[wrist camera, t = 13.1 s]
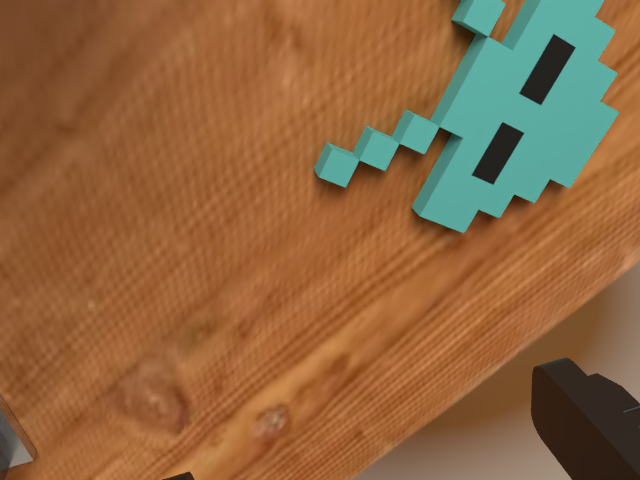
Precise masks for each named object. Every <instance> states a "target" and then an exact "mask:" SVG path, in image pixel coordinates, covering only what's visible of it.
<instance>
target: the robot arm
mask: <svg viewBox="0 0 640 480" xmlns="http://www.w3.org/2000/svg"><path fill="white" fill-rule="evenodd" d="M531 415H532V420H533V423H534V426H535V428H536V430H537V433H538V434H539V436H540V438H541V439H542V440H543V442H544V443H545V445H546V446H547V447H548V448H549V450H550V451H551V452H552V454H553V455H554V456H555V458H556V459H557V460H558V462H559V463H560V464H561V465H562V467H563V468H564V469H565V471H566V472H567V473H568V475H569V476H570V477H571V479H572V480H640V403H639V402H638V401H637V400H636V399H635V398H633V397H632V396H631V395H630V394H629V393H628V392H627V391H626V390H625V389H624V388H623V387H622V386H620V385H618V384H616V383H615V382H613V381H611V380H609V379H607V378H605V377H603V376H601V375H599V374H598V373H596V374H593V375H590V376H587V375H586V374H585V373H584V372H583V371H582V370H581V369H580V368H579V367H578V366H577V365H576V364H575V363H574V362H573V361H572V360H570V359H568V358H562V359H559V360H555V361H552V362H549V363H546V364H542V365H539V366H536V367H534V369H533V374H532V400H531ZM163 480H194V478H193V476H192V474H191V473H190V472H186V473H183V474H180V475H176V476H173V477H170V478H167V479H163Z"/></svg>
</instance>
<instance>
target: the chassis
mask: <svg viewBox="0 0 640 480" xmlns="http://www.w3.org/2000/svg"><path fill="white" fill-rule="evenodd" d="M35 454H36V449H35V448H34V446H33V445H32V443H31V442H30V440H29V439H28V437H27V435H26V434H25V432H24V431H23V429H22V428H21V426H20V425H19V423H18V422H17V420H16V418H15V417H14V415H13V414H12V412H11V411H10V409H9V408H8V406H7V405H6V403H5V401H4V400H3V398H2V397H1V395H0V480H5V477H6V474H7V472H8V469H9V468H10V467H13V466H16V465H20V464H23V463H27V462H30V461H33V460H34V457H35Z"/></svg>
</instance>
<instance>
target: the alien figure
mask: <svg viewBox="0 0 640 480" xmlns="http://www.w3.org/2000/svg"><path fill="white" fill-rule="evenodd" d="M603 2H604V0H525V2H524V4H523V6H522V8H521V9H520V11H519V13H518V15H517V17H516V18H515V20H514V22H513V24H512V26H511V28H510V29H509V31H508V33H507V35H506V37H505V38H504V40H503V42H502V44H500V43H499V42H497V41H495V40H493V39H492V38H490V37H488V36H489V35H490V33H491V31H492V29H493V27H494V25H495V23H496V22H497V20H498V18H499V16H500V14H501V12H502V11H503V9H504V7H505V5H506V4H505V3H503V2H502V1H500V0H461V1H460V3H459V5H458V7H457V9H456V11H455V13H454V15H453V17H452V19H451V20H452V21H454V22H456V23H458V24H459V25H461V26H463V27H465V28H466V29H468V30H470V31H472V32H473V33H475V34H476V35H475V37H474V38H473V40H472V42H471V44H470V46H469V48H468V50H467V52H466V53H465V55H464V57H463V59H462V61H461V63H460V65H459V67H458V69H457V70H456V72H455V74H454V76H453V78H452V80H451V82H450V84H449V85H448V87H447V89H446V91H445V93H444V95H443V97H442V99H441V101H440V102H439V104H438V106H437V108H436V110H435V112H434V114H433V116H432V117H431V119H430V121H429V120H427V119H425V118H423V117H421V116H419V115H416V114H414V113H412V112H410V111H408V110H406V109H405V111H404V113H403V115H402V117H401V119H400V121H399V123H398V125H397V127H396V129H395V131H394V133H393V135H392V137H390V136H388V135H386V134H384V133H381V132H379V131H377V130H375V129H372V128H370V127H368V126H366V127H365V129H364V131H363V133H362V135H361V137H360V139H359V141H358V143H357V145H356V147H355V149H354V151H353V153H351V152H349V151H347V150H344V149H342V148H339V147H337V146H335V145H332V144H330V143H327V142H326V144H325V147H324V149H323V151H322V153H321V155H320V157H319V159H318V162H317V164H316V166H315V168H314V170H315V172H316V174H317V175H318V177H319V178H322V179H325V180H327V181H330V182H332V183H335V184H338V185H340V186H343V187H345V188H346V186H347V184H348V182H349V180H350V178H351V176H352V174H353V172H354V170H355V168H356V166H357V164H358V162H359V160H360V161H362V162H364V163H367V164H369V165H372V166H374V167H377V168H379V169H381V170H384V171H386V169H387V167H388V165H389V163H390V161H391V159H392V157H393V155H394V153H395V151H396V149H397V148H398V146H399V144H402V145H404V146H406V147H409V148H411V149H413V150H415V151H418V152H420V153H422V154H424V155H425V153H426V151H427V149H428V147H429V145H430V144H431V142H432V140H433V138H434V136H435V134H436V132H437V131H438V129H439V127H441V128H443V129H445V130H447V131H450V132H452V135H451V136H450V138H449V140H448V142H447V144H446V145H445V147H444V149H443V151H442V153H441V155H440V156H439V158H438V160H437V162H436V164H435V165H434V167H433V169H432V171H431V173H430V175H429V176H428V178H427V180H426V182H425V184H424V185H423V187H422V189H421V191H420V193H419V194H418V196H417V198H416V200H415V202H414V204H413V205H412V207H411V208H412V209H413V210H414V211H415V212H416V213H417V214H418V215H419V216H420V217H423V218H426V219H428V220H431V221H433V222H436V223H439V224H441V225H444V226H446V227H449V228H452V229H454V230H457V231H459V232H462V233H465V231H466V229H467V228H468V226H469V224H470V223H471V221H472V219H473V218H474V216H475V214H476V213H477V211H478V210H481V211H483V212H486V213H488V214H490V215H493V216H495V217H498V218H500V217H501V215H502V213H503V212H504V210H505V209H506V207H507V205H508V204H509V202H510V200H511V199H512V197H513V196H514V194H515V195H517V196H519V197H522V198H524V199H526V200H528V201H531V202H533V203H535V202H536V200H537V199H538V197H539V196H540V194H541V192H542V191H543V189H544V188H545V186H546V185H547V183H548V182H549V180H550V179H551V180H553V181H555V182H557V183H559V184H562V185H564V186H566V187H568V188H570V187H571V185H572V184H573V182H574V181H575V179H576V178H577V176H578V175H579V173H580V172H581V170H582V169H583V167H584V166H585V164H586V163H587V161H588V160H589V158H590V156H591V155H592V153H593V152H594V150H595V149H596V147H597V146H598V144H599V143H600V141H601V140H602V138H603V137H604V135H605V134H606V132H607V131H608V129H609V128H610V126H611V125H612V123H613V122H614V120H615V118H616V117H617V115H618V114H619V112H618V111H616V110H614V109H612V108H611V107H609V106H607V105H606V104H604V103H602V102H600V100H601V99H602V97H603V96H604V94H605V92H606V91H607V89H608V88H609V86H610V85H611V83H612V81H613V80H614V78H615V77H616V75H617V74H618V73H616V72H615V71H613V70H612V69H610V68H608V67H607V66H605V65H603V64H602V63H600V62H599V61H597V60H598V59H599V57H600V56H601V54H602V52H603V51H604V49H605V47H606V46H607V44H608V43H609V41H610V39H611V38H612V36H613V35H614V33H615V30H614V29H612V28H611V27H609V26H608V25H606V24H605V23H603V22H602V21H600V20H599V19H597V18H596V17H595V15H596V13H597V12H598V10H599V8H600V7H601V5H602V3H603Z"/></svg>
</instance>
